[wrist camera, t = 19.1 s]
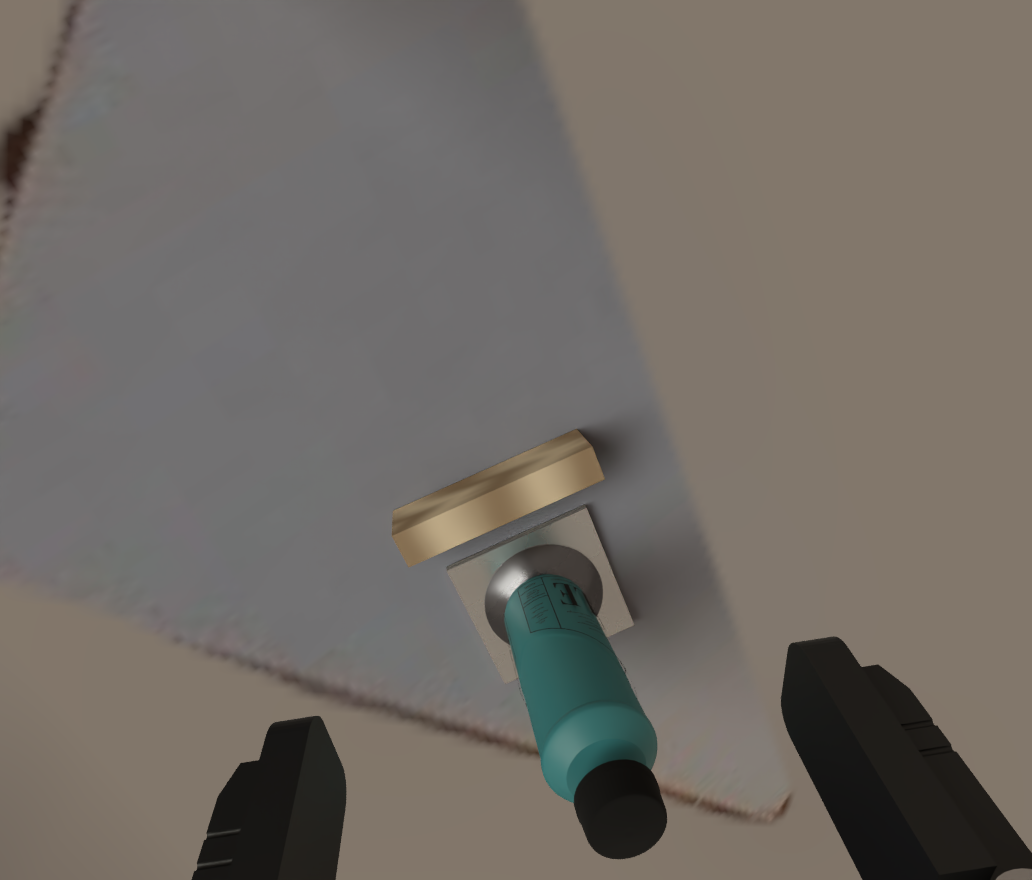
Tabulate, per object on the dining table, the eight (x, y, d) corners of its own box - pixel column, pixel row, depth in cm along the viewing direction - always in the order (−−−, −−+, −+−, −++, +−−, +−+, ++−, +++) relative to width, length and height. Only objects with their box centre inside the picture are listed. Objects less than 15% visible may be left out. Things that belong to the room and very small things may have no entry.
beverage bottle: (490, 633, 48) (542, 888, 29) (509, 553, 46) (578, 770, 27) (572, 641, 49) (674, 891, 30) (594, 564, 48) (715, 778, 29)
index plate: (503, 679, 50) (505, 684, 49) (446, 566, 46) (446, 571, 46) (631, 620, 50) (634, 625, 50) (584, 504, 47) (587, 508, 46)
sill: (408, 540, 45) (408, 567, 42) (393, 510, 45) (391, 535, 41) (588, 459, 46) (605, 479, 42) (576, 428, 45) (592, 446, 41)
